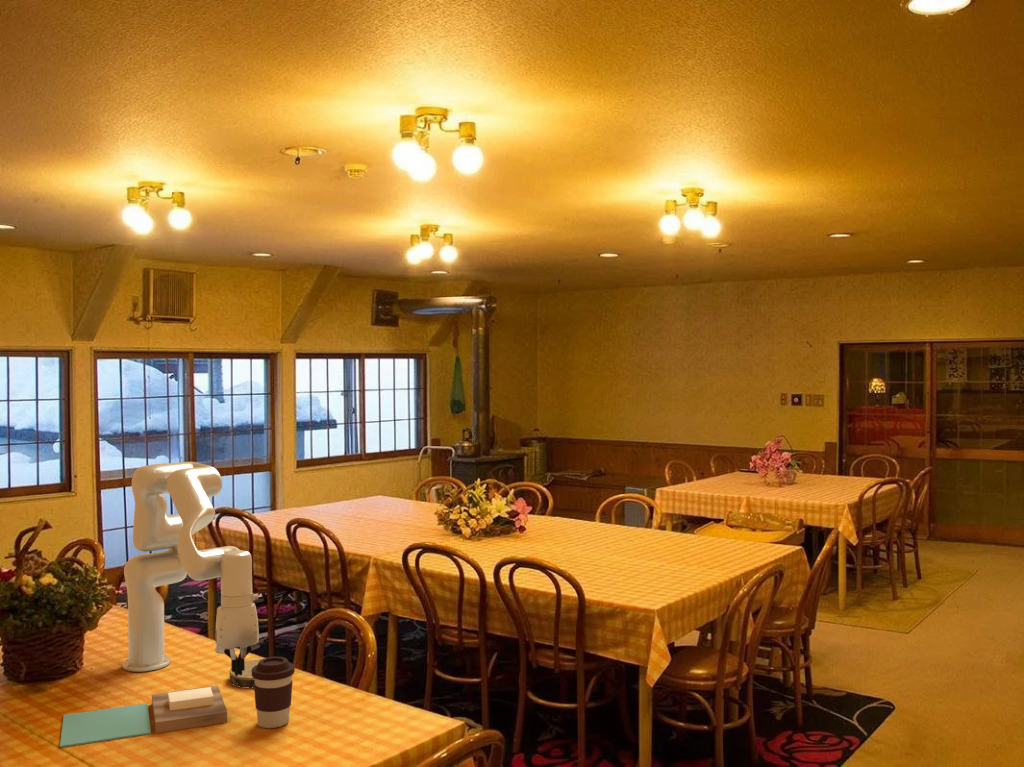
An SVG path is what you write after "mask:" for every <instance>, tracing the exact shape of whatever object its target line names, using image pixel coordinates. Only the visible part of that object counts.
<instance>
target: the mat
mask: <svg viewBox="0 0 1024 767" xmlns="http://www.w3.org/2000/svg"><path fill="white" fill-rule="evenodd" d="M149 712H150V711H149V704H148V702H146V703H140V704H139V703H138V704H131V705H124V706H118V707H111V708H110V707H108V708H104V709H95V710H90V711H89V710H88V711H83V712H82V711H80V712H74V713H67V714H63V718H62V726H61V733H60V734H61V735H60V741H59V742H60V743H59V748H66V747H68V748H69V747H75V746H80V745H87V744H88V745H89V744H94V743H99V742H106V741H111V740H112V741H113V740H118V739H119V740H120V739H127V738H133V737H139V736H146V735H152V728H151V722H150V720H151V719H150V713H149Z"/></svg>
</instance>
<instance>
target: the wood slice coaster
mask: <svg viewBox="0 0 1024 767" xmlns="http://www.w3.org/2000/svg"><path fill="white" fill-rule="evenodd" d="M262 659H263V658H258V659H252V660H251V659H250V660H247V661H244V664H245V670H243V671H242V675H238V676H235V674H234V672H232V669H231V668H230V670H229V683H230V684H231V683H232V684H231V685H233V684H234V685H236V686H235V687H238V686H240V687H239V688H242V687H249V688H248V689H254V683H255V679H254V678H253V677H252V668H253V667H254V666H256V665H258V662H259V661H260V660H262ZM234 685H233V686H234ZM252 687H253V688H252Z"/></svg>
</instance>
